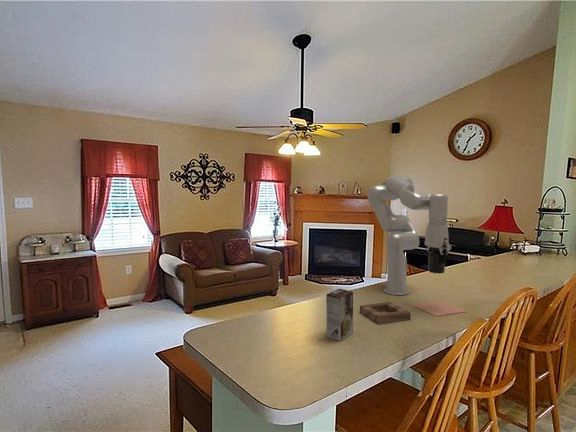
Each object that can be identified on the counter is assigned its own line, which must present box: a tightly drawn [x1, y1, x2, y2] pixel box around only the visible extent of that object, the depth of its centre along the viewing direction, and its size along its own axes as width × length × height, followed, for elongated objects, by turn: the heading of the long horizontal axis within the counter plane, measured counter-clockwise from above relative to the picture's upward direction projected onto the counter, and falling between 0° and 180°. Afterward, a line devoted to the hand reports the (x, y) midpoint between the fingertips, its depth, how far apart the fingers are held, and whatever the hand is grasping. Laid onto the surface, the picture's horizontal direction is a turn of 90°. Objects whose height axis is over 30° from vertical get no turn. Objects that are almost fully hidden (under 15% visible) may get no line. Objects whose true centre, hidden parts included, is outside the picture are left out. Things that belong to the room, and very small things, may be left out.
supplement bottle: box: [427, 247, 446, 274], centre depth 156 cm, size 7×7×12 cm
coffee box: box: [326, 288, 354, 342], centre depth 129 cm, size 9×6×16 cm
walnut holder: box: [359, 301, 412, 325], centre depth 149 cm, size 15×15×3 cm
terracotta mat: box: [411, 300, 467, 317], centre depth 158 cm, size 16×16×1 cm
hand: (436, 261), depth 156 cm, fingers closed on supplement bottle, 6 cm apart
